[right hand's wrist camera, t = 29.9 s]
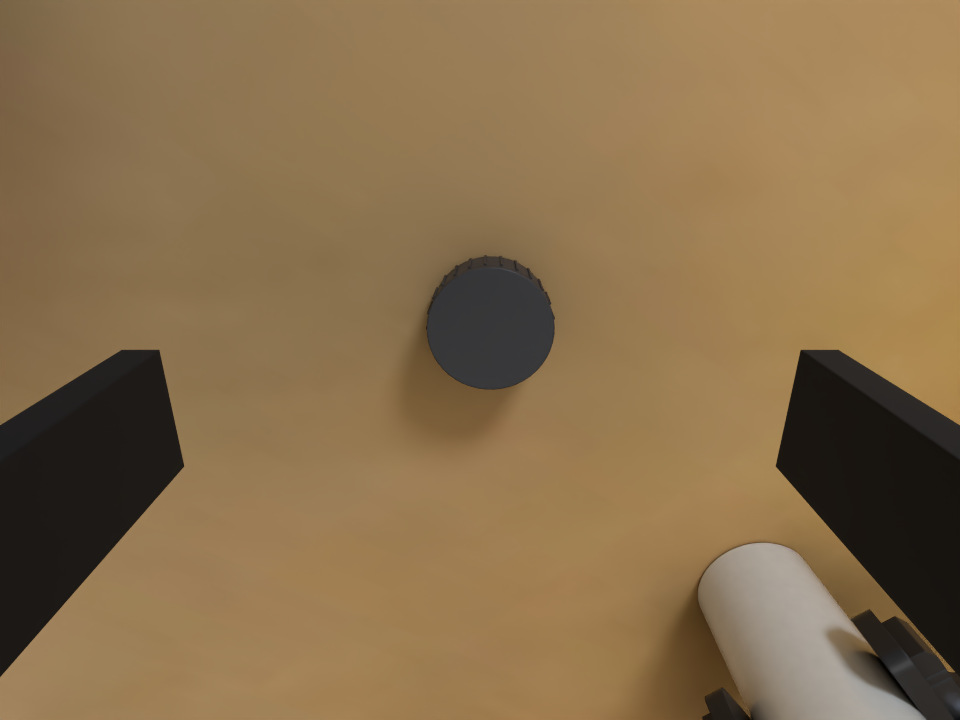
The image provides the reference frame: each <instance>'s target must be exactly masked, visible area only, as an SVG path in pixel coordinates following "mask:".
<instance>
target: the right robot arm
mask: <svg viewBox="0 0 960 720" xmlns="http://www.w3.org/2000/svg"><path fill="white" fill-rule="evenodd" d="M183 467H184V463H183V458H182V454H181V449H180V444H179V440H178V435H177V430H176V426H175V421H174V417H173V412H172V407H171V403H170V398H169V393H168V389H167V384H166V379H165V375H164V370H163V365H162V361H161V356H160V351H159V350H121V351H119V352H118V353H116V354H114V355H113V356H111V357H110V358H108V359H106V360H105V361H103V362H102V363H100V364H98V365H97V366H95V367H93V368H92V369H90V370H89V371H87V372H85V373H84V374H82V375H81V376H79V377H77V378H76V379H74V380H73V381H71V382H69V383H68V384H66V385H64V386H63V387H61V388H60V389H58V390H56V391H55V392H53V393H52V394H50V395H48V396H47V397H45V398H44V399H42V400H40V401H39V402H37V403H35V404H34V405H32V406H31V407H29V408H27V409H26V410H24V411H23V412H21V413H19V414H18V415H16V416H15V417H13V418H11V419H10V420H8V421H6V422H5V423H3V424H2V425H0V677H1V675H2V674H3V673H4V672H5V671H6V670H7V669H8V667H9V666H10V665H11V664H12V663H13V662H14V661H15V659H16V658H17V657H18V656H19V655H20V654H21V653H22V651H23V650H24V649H25V648H26V647H27V646H28V645H29V643H30V642H31V641H32V640H33V639H34V638H35V637H36V635H37V634H38V633H39V632H40V631H41V630H42V629H43V627H44V626H45V625H46V624H47V623H48V622H49V621H50V619H51V618H52V617H53V616H54V615H55V614H56V613H57V611H58V610H59V609H60V608H61V607H62V606H63V605H64V603H65V602H66V601H67V600H68V599H69V598H70V596H71V595H72V594H73V593H74V592H75V591H76V590H77V588H78V587H79V586H80V585H81V584H82V583H83V582H84V580H85V579H86V578H87V577H88V576H89V575H90V574H91V572H92V571H93V570H94V569H95V568H96V567H97V566H98V564H99V563H100V562H101V561H102V560H103V559H104V558H105V556H106V555H107V554H108V553H109V552H110V551H111V550H112V548H113V547H114V546H115V545H116V544H117V543H118V542H119V540H120V539H121V538H122V537H123V536H124V535H125V534H126V532H127V531H128V530H129V529H130V528H131V527H132V526H133V524H134V523H135V522H136V521H137V520H138V519H139V517H140V516H141V515H142V514H143V513H144V512H145V511H146V509H147V508H148V507H149V506H150V505H151V504H152V503H153V501H154V500H155V499H156V498H157V497H158V496H159V495H160V493H161V492H162V491H163V490H164V489H165V488H166V487H167V485H168V484H169V483H170V482H171V481H172V480H173V479H174V477H175V476H176V475H177V474H178V473H179V472H180V471H181V469H182V468H183ZM776 467H777V468H778V469H779V471H780V472H781V473H782V474H783V475H784V476H785V477H786V479H787V480H788V481H789V482H790V483H791V484H792V485H793V487H794V488H795V489H796V490H797V491H798V492H799V493H800V495H801V496H802V497H803V498H804V499H805V500H806V501H807V503H808V504H809V505H810V506H811V507H812V508H813V509H814V511H815V512H816V513H817V514H818V515H819V516H820V517H821V519H822V520H823V521H824V522H825V523H826V524H827V526H828V527H829V528H830V529H831V530H832V531H833V532H834V534H835V535H836V536H837V537H838V538H839V539H840V540H841V542H842V543H843V544H844V545H845V546H846V547H847V548H848V550H849V551H850V552H851V553H852V554H853V555H854V556H855V558H856V559H857V560H858V561H859V562H860V563H861V564H862V566H863V567H864V568H865V569H866V570H867V571H868V572H869V574H870V575H871V576H872V577H873V578H874V579H875V580H876V582H877V583H878V584H879V585H880V586H881V587H882V588H883V590H884V591H885V592H886V593H887V594H888V595H889V596H890V598H891V599H892V600H893V601H894V602H895V603H896V605H897V606H898V607H899V608H900V609H901V610H902V611H903V613H904V614H905V615H906V616H907V617H908V618H909V619H910V621H911V622H912V623H913V624H914V625H915V626H916V627H917V629H918V630H919V631H920V632H921V633H922V634H923V635H924V637H925V638H926V639H927V640H928V641H929V642H930V643H931V645H932V646H933V647H934V648H935V649H936V650H937V651H938V653H939V654H940V655H941V656H942V657H943V658H944V659H945V661H946V662H947V663H948V664H949V665H950V666H951V667H952V669H953V670H954V671H955V672H956V673H957V674H958V675H959V677H960V425H958V424H957V423H955V422H954V421H952V420H950V419H949V418H947V417H945V416H944V415H942V414H941V413H939V412H937V411H936V410H934V409H933V408H931V407H929V406H928V405H926V404H925V403H923V402H921V401H920V400H918V399H916V398H915V397H913V396H912V395H910V394H908V393H907V392H905V391H904V390H902V389H900V388H899V387H897V386H896V385H894V384H892V383H891V382H889V381H887V380H886V379H884V378H883V377H881V376H879V375H878V374H876V373H875V372H873V371H871V370H870V369H868V368H867V367H865V366H863V365H862V364H860V363H858V362H857V361H855V360H854V359H852V358H850V357H849V356H847V355H846V354H844V353H842V352H841V351H839V350H801V351H800V356H799V361H798V365H797V370H796V375H795V379H794V384H793V389H792V393H791V398H790V403H789V407H788V412H787V417H786V421H785V426H784V430H783V435H782V440H781V444H780V449H779V454H778V458H777V463H776Z"/></svg>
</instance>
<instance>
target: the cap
mask: <svg viewBox="0 0 960 720" xmlns="http://www.w3.org/2000/svg"><path fill="white" fill-rule="evenodd" d="M432 299H433V301H431V304H430V307H429V310H428V313H427V314H429V315H428V320H427V327H426V329H427V337H428V342H429V346H430V349H431V351H432V353H433V356H434V357H435V359H436V361H437V362H438V364H439V365H440V366H441V367H442V369H443V370H444V371H445V372H447V373H448V374H449V375H450V376H451V377H453V378H454V379H456V380H457V381H459V382H461V383H463V384H466V385H468V386H471V387H475V388H479V389H502V388H506V387H510V386H513V385H516V384H518V383H520V382H522V381H524V380H525V379H527V378H528V377H530V376H531V375H532V374H533V373H535V372H536V371H537V370H538V369H539V367H540V366H541V365H542V364H543V362H544V361H545V359H546V358H547V356H548V354H549V352H550V349H551V346H552V343H553V338H554V319H555V317H554V315H553V312H552V309H551V307H550V304H551V302H550V299H549V297H548V294H547V292H544V289H543V287H542V284H541V281H540V279H538V280H537V278H536V277H535V276H534V275H533V274H532V273H531V271H530V269H529V268H528V269H526V268H525V267H524V266H522V265H520V264H519V263H517V261H516V260H515V261H512V260H509V259H505V258H502V256H500V257H487V255H484V257H480V258H476V259H471V258H470V259H469V261H467V262H465V263H463V264H461V265H459V266H458V265H456V266H455V269H454V270H452V271H451V272H450V273H449V274H448V275H445V276H444V278H443V281H442V282H441V284H440V286H439V288H438V287H437V288H436V290H435V293H434V295H433V298H432Z"/></svg>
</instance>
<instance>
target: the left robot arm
mask: <svg viewBox="0 0 960 720" xmlns="http://www.w3.org/2000/svg"><path fill="white" fill-rule="evenodd" d="M851 621H852V622H853V624H854V625H855V626H856V628H857V629H858V630H859V632H860V633H861V634H862V636H863V637H864V638H865V640H866V641H867V642H868V644H869V645H870V646H871V648H872V649H873V650H874V652H875V653H876V654H877V656H878V657H879V658H880V660H881V661H882V662H883V664H884V665H885V666H886V668H887V669H888V670H889V672H890V673H891V674H892V675H893V677H894V678H895V679H896V681H897V682H898V683H899V685H900V686H901V687H902V689H903V690H904V691H905V692H906V694H907V695H908V696H909V698H910V699H911V700H912V702H913V703H914V704H915V706H916V707H917V708H918V709H919V711H920V712H921V713H922V715H923V716H924V717H925V718H926V719H927V720H960V677H959V675H958V674H957V673H956V672H948V671H947V670H946V668H945V667H944V665H943V664H942V662H941V661H940V660H939V658H938V657H937V656H936V655H935V654H934V652H933V651H932V650H931V649H930V648H929V647H928V646H927V644H926V643H925V642H924V641H923V640H922V639H921V638H920V637H919V635H918V634H917V633H916V632H915V631H914V630H913V629H912V627H911V626H910V625H909V624H908V623H907V622H905V621H903V620H901V619H899V618H897V617H895V616H894V617H892V618H891V619H889V620H887V621H885V622H883V623H881V622H880V621H879V620H878V619H877V617H876V616H875V615H874V614H873V613H872V611H871V610H870V609H869V610H867V611H865V612H863V613H861V614H859V615H857V616H856V617H854V618H852V619H851ZM705 701H706V704H707V706H708V709H709V711H710V713H709V714H707V715H705V716H703V717H702V719H703V720H751V719H750V717H749V716H748V715H747V714H746V713H745V712H744V711H743V709H742V708H741V707H740V706H739V705H738V704H737V703H736V702H735V700H734V699H733V698H732V697H731V696H730V695H729V694H728V692H727V691H726V690H725V689H724V688H720V689H718V690H717V691H715V692H713V693H711V694H709V695H707V696H705Z"/></svg>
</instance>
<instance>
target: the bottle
mask: <svg viewBox="0 0 960 720" xmlns="http://www.w3.org/2000/svg"><path fill="white" fill-rule="evenodd" d="M698 602H699V606H700V608H701V611H702V613H703V615H704V617H705V619H706V622H707V624H708V626H709V628H710V630H711V632H712V635H713V637H714V639H715V641H716V643H717V646H718V648H719V650H720V652H721V654H722V656H723V659H724V661H725V663H726V665H727V667H728V669H729V672H730V674H731V676H732V678H733V680H734V683H735V685H736V687H737V689H738V691H739V693H740V696H741V698H742V700H743V702H744V704H745V706H746V709H747V711H748V713H749V715H750V717H751V720H927V719H926V718H925V717H924V716H923V715H922V713H921V712H920V711H919V709H918V708H917V707H916V706H915V704H914V703H913V702H912V700H911V699H910V698H909V696H908V695H907V694H906V692H905V691H904V690H903V689H902V687H901V686H900V685H899V683H898V682H897V681H896V679H895V678H894V677H893V675H892V674H891V673H890V672H889V670H888V669H887V668H886V666H885V665H884V664H883V662H882V661H881V660H880V658H879V657H878V656H877V654H876V653H875V652H874V650H873V649H872V648H871V646H870V645H869V644H868V642H867V641H866V640H865V638H864V637H863V636H862V634H861V633H860V632H859V630H858V629H857V628H856V626H855V625H854V624H853V623H852V621H851V620H850V619H849V617H848V616H847V615H846V613H845V612H844V611H843V609H842V608H841V607H840V606H839V604H838V603H837V602H836V600H835V599H834V598H833V596H832V595H831V594H830V592H829V591H828V590H827V589H826V587H825V586H824V585H823V583H822V582H821V581H820V579H819V578H818V577H817V575H816V574H815V573H814V572H813V570H812V569H811V568H810V566H809V565H808V564H807V562H806V561H805V560H804V559H803V558H802V557H801V556H800V555H799V554H798V553H796V552H795V551H793V550H791V549H789V548H787V547H785V546H782V545H778V544H774V543H752V544H747V545H743V546H740V547H737V548H734V549H732V550H730V551H728V552H726V553H724V554H723V555H721V556H720V557H719V558H717V559H716V560H715V561H714V562H713V563H712V564H711V565H710V566H709V567H708V568H707V570H706V571H705V573H704V574H703V576H702V578H701V581H700V584H699V588H698Z"/></svg>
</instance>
